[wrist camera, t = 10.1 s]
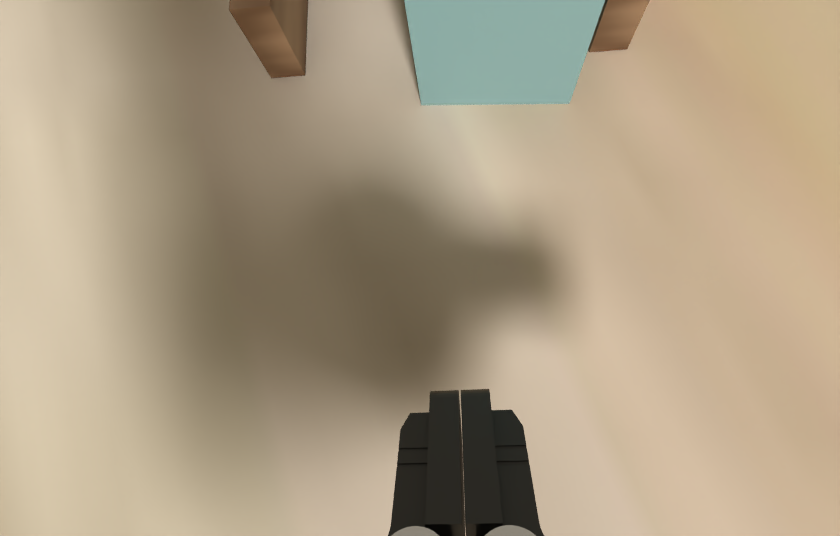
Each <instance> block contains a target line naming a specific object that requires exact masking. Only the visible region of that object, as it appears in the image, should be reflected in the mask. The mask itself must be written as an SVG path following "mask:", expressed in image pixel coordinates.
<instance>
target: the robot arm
mask: <svg viewBox="0 0 840 536" xmlns="http://www.w3.org/2000/svg"><path fill="white" fill-rule="evenodd" d="M461 410H462V431H461V417H460V403H459V391H458V390H453V391H431V392H430V407H429V413H410V415H409V416H408V418H407V420H406V421H405V423H404V425H403V426H402V428H401V431H400V441H399V452H398V461H397V471H396V481H395V491H394V500H393V510H392V520H391V527H390V531H389V534H388V536H465V526H466V536H544V535H543V533H542V530H541V528H540V524H539V519H538V513H537V507H536V501H535V495H534V489H533V483H532V477H531V471H530V465H529V459H528V453H527V449H526V441H525V435H524V429H523V425H522V424H521V423H520V421H519V420H518V418H517V417H516V415H515V414H514V412H513V411H512V410H491V402H490V392H489V389H478V390H461ZM462 440H463V450H462ZM463 470H464V480H463ZM464 500H465V510H464Z"/></svg>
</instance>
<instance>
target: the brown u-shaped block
mask: <svg viewBox="0 0 840 536" xmlns="http://www.w3.org/2000/svg"><path fill="white" fill-rule="evenodd" d="M648 2H649V0H605V2H604V5H603V8H602V11H601V14H600V16H599V19H598V22H597V25H596V28H595V31H594V34H593V37H592V40H591V42H590V45H589V52H597V51H610V50H622V49H627V48H628V46H629V44H630V42H631V39H632V37H633V35H634V33H635V31H636V29H637V26H638V24H639V22H640V20H641V18H642V15H643V13H644V11H645V9H646V7H647V5H648ZM229 10H230V12H231V14H232V15H233V17H234V18H235V20H236V22H237V23H238V25H239V27H240V28H241V30H242V31H243V33H244V35H245V36H246V38H247V39H248V41H249V43H250V44H251V46H252V48H253V49H254V51H255V52H256V54H257V56H258V57H259V59H260V60H261V62H262V64H263V65H264V67H265V68H266V70H267V72H268V73H269V75H270V77H271V78H277V77H289V76H302V75H305V64H306V37H307V10H308V0H230V4H229Z"/></svg>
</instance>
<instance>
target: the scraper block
mask: <svg viewBox="0 0 840 536" xmlns="http://www.w3.org/2000/svg"><path fill="white" fill-rule="evenodd" d="M404 2H405V8H406V14H407V20H408V27H409V33H410V39H411V45H412V51H413V57H414V63H415V70H416V76H417V82H418V88H419V94H420V100H421V105H488V104H569V103H570V100H571V97H572V95H573V92H574V89H575V86H576V83H577V80H578V77H579V74H580V71H581V68H582V66H583V63H584V60H585V57H586V54H587V51H588V48H589V45H590V42H591V40H592V37H593V34H594V31H595V28H596V25H597V22H598V19H599V16H600V14H601V11H602V8H603V5H604V2H605V0H404Z"/></svg>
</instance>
